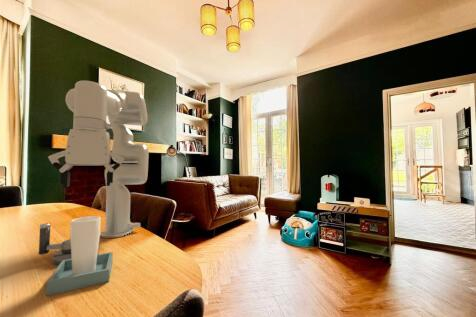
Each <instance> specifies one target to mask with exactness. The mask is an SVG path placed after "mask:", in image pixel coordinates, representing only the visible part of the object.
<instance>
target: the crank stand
mask: <svg viewBox="0 0 476 317" xmlns="http://www.w3.org/2000/svg"><path fill="white" fill-rule="evenodd" d="M67 259H72V257H71V253H66V254H64V253H61V249H60V250H59V249H58V250H57V251H56V252H54V253H53V254H52V263H51V264H52V265H53V266H57V267H58V266H59V265H60V263H61V262H62V260H67Z"/></svg>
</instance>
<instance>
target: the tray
mask: <svg viewBox="0 0 476 317" xmlns="http://www.w3.org/2000/svg"><path fill="white" fill-rule="evenodd" d="M113 259H114V251H110V252H104V253H99V254H97V262H96V270H95V271H93V272H88V273H83V274H78V275H73V276H72V259H67V260H62V262H61V263H60V265H59V266H57V268H56V269H55V270H54V272H52V274H51V276H50V277H49V278H48V280H47V281H46V288H45V289H46V290H45V292H46V294H45V296H46V297H48V296H52V295H57V294H61V293H66V292H71V291H75V290H79V289H84V288H89V287H91V286H96V285H100V284H101V285H102V284H106V283H109V282H110V278H111V271H112V268H113V262H114V261H113Z"/></svg>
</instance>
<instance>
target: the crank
mask: <svg viewBox="0 0 476 317" xmlns="http://www.w3.org/2000/svg"><path fill="white" fill-rule="evenodd" d="M50 242H51V223H50V222H46V223H41V224H40V225H39V240H38V255H41V256H43V255H47V254H49V252H50V251H51V250H59V249H60V250H61V253H64V254H66V253H71V243H70V238H69V239H65V240H63V241H61V242H60V243H52V244H51V243H50Z"/></svg>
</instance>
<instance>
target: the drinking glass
mask: <svg viewBox="0 0 476 317" xmlns="http://www.w3.org/2000/svg"><path fill="white" fill-rule="evenodd" d="M101 219H102V218H101V216H98V215H91V216H90V215H89V216H82V217H77V218H74V219H71V221H70V230H69V236H70V237H69V239H70V243H71V257H72V276H73V275H78V274H83V273H88V272H93V271H95V270H96V262H97V254H98V252H99V246H100V238H101V231H102V230H101V228H102V227H101V226H102V222H101V221H102V220H101Z"/></svg>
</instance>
